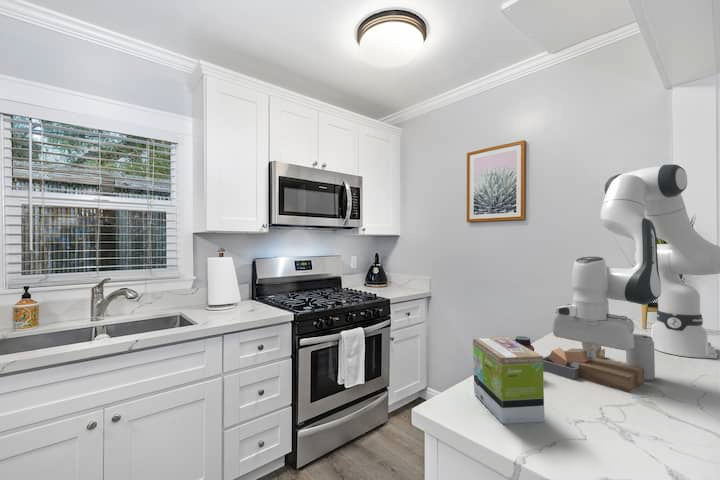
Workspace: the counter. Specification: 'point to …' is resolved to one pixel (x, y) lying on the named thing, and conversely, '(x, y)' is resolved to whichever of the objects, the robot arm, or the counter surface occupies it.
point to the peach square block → (559, 357)
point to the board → (612, 374)
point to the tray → (561, 369)
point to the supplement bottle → (524, 342)
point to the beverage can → (642, 355)
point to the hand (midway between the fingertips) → (591, 358)
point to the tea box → (509, 380)
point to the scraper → (598, 352)
